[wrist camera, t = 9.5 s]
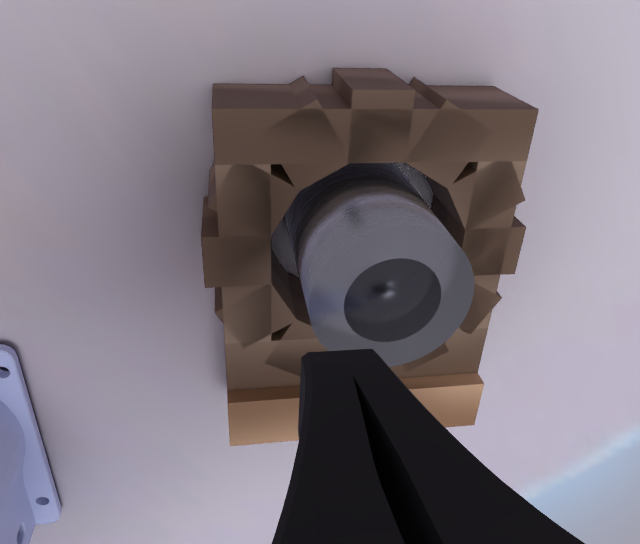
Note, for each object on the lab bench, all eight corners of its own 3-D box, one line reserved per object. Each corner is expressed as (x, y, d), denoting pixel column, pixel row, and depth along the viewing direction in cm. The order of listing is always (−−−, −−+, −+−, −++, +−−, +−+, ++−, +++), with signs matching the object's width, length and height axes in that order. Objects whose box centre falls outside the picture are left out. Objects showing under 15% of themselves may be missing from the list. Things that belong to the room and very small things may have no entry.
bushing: (405, 254, 21) (465, 356, 16) (288, 267, 21) (312, 377, 15) (410, 140, 19) (483, 216, 14) (279, 151, 18) (305, 235, 13)
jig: (450, 371, 24) (484, 433, 21) (216, 388, 23) (216, 457, 20) (511, 70, 18) (571, 96, 15) (194, 66, 17) (189, 94, 13)
